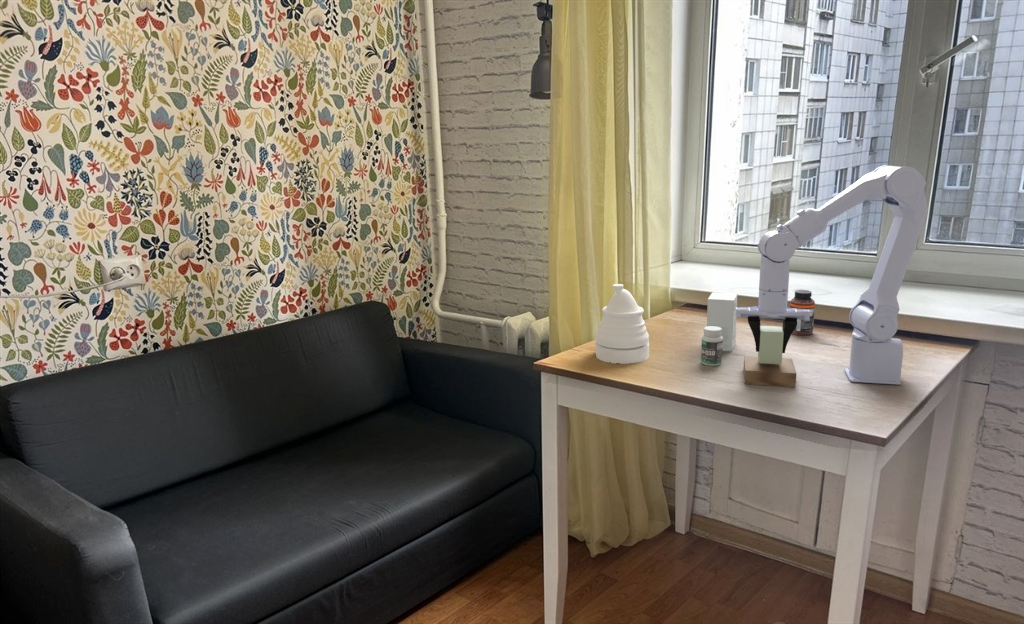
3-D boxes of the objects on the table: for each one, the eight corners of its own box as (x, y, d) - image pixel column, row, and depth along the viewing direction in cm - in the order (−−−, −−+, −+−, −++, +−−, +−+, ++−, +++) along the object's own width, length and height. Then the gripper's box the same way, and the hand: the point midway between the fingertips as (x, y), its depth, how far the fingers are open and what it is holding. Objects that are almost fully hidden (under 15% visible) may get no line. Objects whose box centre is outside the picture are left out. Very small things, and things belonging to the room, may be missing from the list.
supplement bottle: (785, 329, 180) (788, 288, 178) (809, 329, 180) (812, 288, 177) (791, 335, 175) (794, 293, 172) (815, 336, 174) (818, 293, 171)
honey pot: (631, 367, 155) (632, 291, 151) (585, 357, 163) (584, 285, 159) (658, 353, 165) (659, 281, 160) (613, 345, 173) (613, 276, 169)
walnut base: (791, 371, 148) (792, 358, 147) (795, 387, 139) (796, 373, 138) (743, 368, 151) (744, 356, 150) (744, 383, 142) (745, 370, 141)
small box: (710, 340, 173) (712, 291, 170) (736, 343, 171) (738, 293, 167) (705, 349, 166) (707, 298, 163) (732, 352, 163) (734, 300, 160)
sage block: (780, 357, 145) (781, 326, 144) (781, 364, 141) (783, 332, 140) (758, 356, 147) (759, 325, 145) (758, 363, 143) (760, 331, 141)
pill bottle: (696, 362, 157) (697, 327, 155) (709, 358, 159) (711, 324, 157) (713, 367, 153) (714, 332, 151) (726, 363, 155) (727, 328, 153)
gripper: (737, 292, 139) (734, 354, 142) (813, 294, 134) (808, 358, 138) (736, 285, 145) (734, 345, 149) (809, 286, 141) (805, 348, 144)
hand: (770, 351), depth 144 cm, fingers closed on sage block, 4 cm apart
